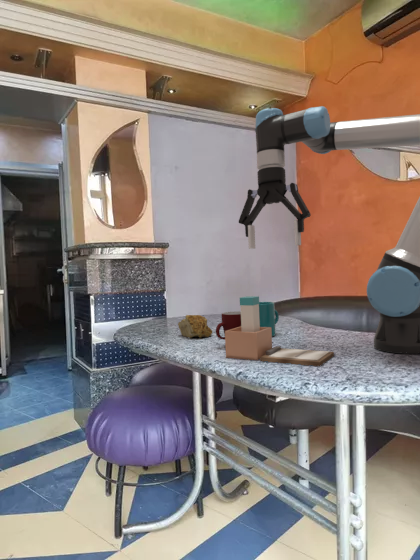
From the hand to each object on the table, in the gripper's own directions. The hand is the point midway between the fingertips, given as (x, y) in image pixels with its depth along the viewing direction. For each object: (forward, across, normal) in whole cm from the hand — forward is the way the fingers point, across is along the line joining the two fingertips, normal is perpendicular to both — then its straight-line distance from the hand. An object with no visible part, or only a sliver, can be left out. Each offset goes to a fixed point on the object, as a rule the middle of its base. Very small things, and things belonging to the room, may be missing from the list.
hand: (274, 247), depth 112 cm
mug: (+29, +15, -1) cm, 33 cm away
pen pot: (+29, +5, +8) cm, 30 cm away
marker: (+28, +4, +8) cm, 30 cm away
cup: (+29, +14, -22) cm, 39 cm away
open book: (+29, -8, +7) cm, 31 cm away
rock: (+29, +37, -13) cm, 49 cm away
